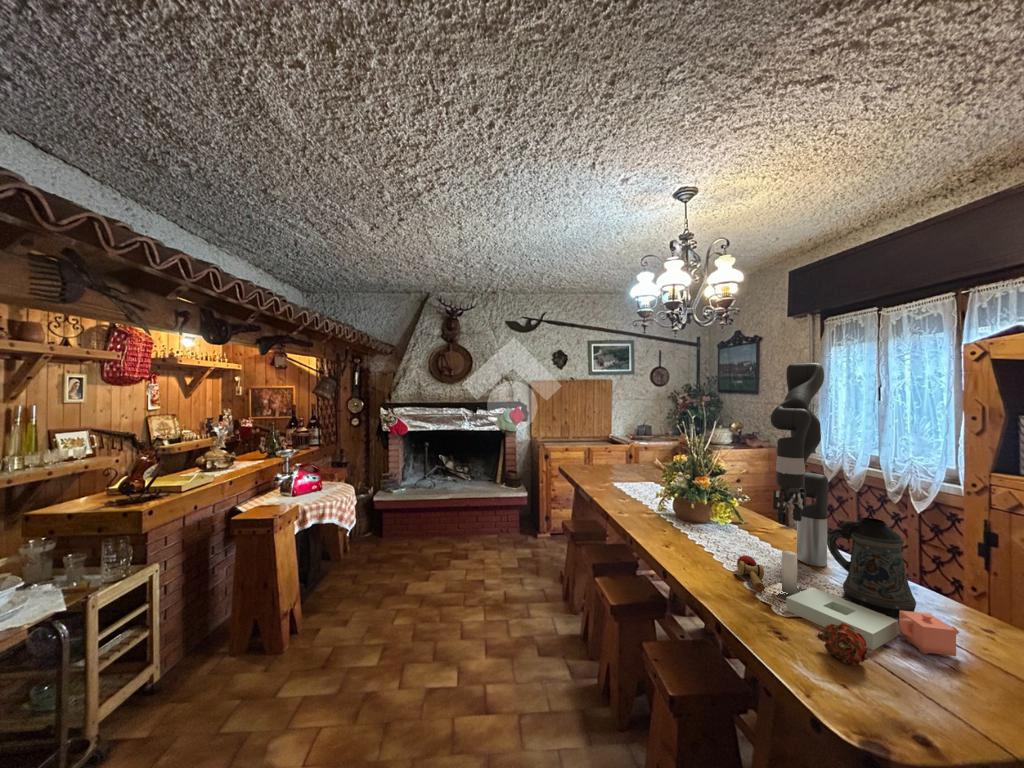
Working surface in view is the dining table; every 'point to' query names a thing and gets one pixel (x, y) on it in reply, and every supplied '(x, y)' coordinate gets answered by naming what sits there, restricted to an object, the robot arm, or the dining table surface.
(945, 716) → the dining table surface
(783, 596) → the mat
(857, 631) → the hole block
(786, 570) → the peg
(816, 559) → the robot arm
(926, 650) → the pink cube teapot
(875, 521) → the beer stein
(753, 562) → the kendama
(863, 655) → the dried red rose
